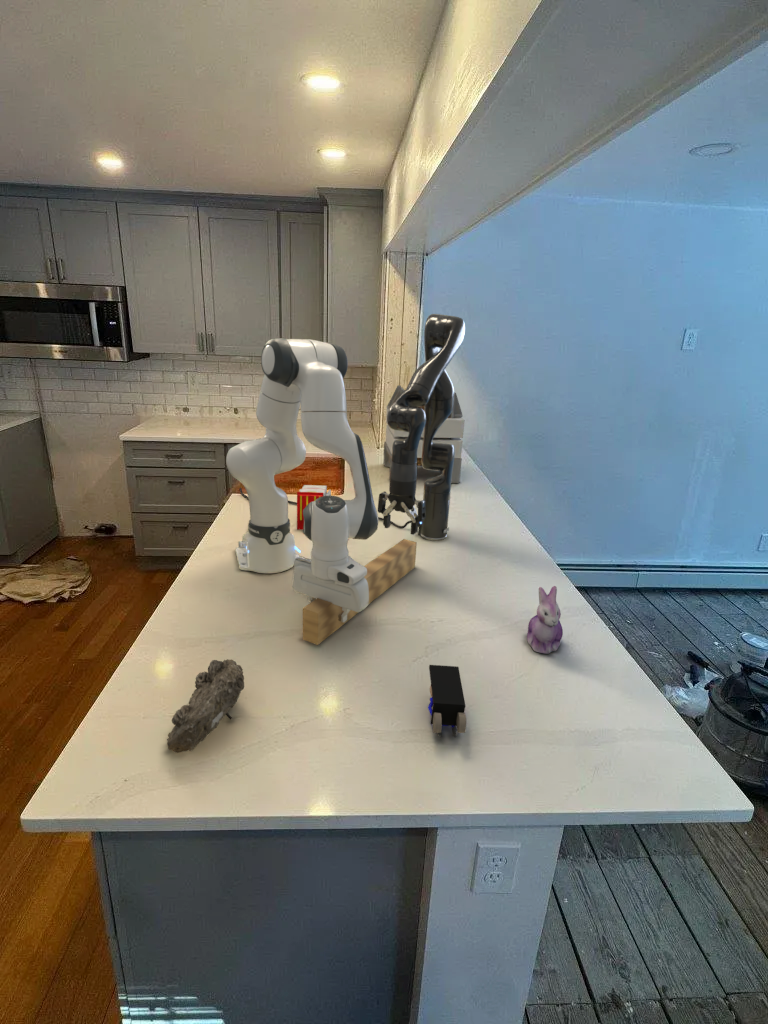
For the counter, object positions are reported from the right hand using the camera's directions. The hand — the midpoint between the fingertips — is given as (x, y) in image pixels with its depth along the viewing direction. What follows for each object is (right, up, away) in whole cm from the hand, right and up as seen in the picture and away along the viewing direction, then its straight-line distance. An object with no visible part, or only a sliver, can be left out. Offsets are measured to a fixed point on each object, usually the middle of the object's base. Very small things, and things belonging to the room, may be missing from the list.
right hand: (400, 530), depth 164 cm
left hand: (-18, -20, -26) cm, 38 cm away
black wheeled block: (+7, -35, -54) cm, 65 cm away
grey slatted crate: (+13, +24, +110) cm, 114 cm away
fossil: (-37, -34, -56) cm, 76 cm away
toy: (-31, +3, +47) cm, 57 cm away
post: (-10, -18, -10) cm, 23 cm away
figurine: (+34, -27, -28) cm, 51 cm away
